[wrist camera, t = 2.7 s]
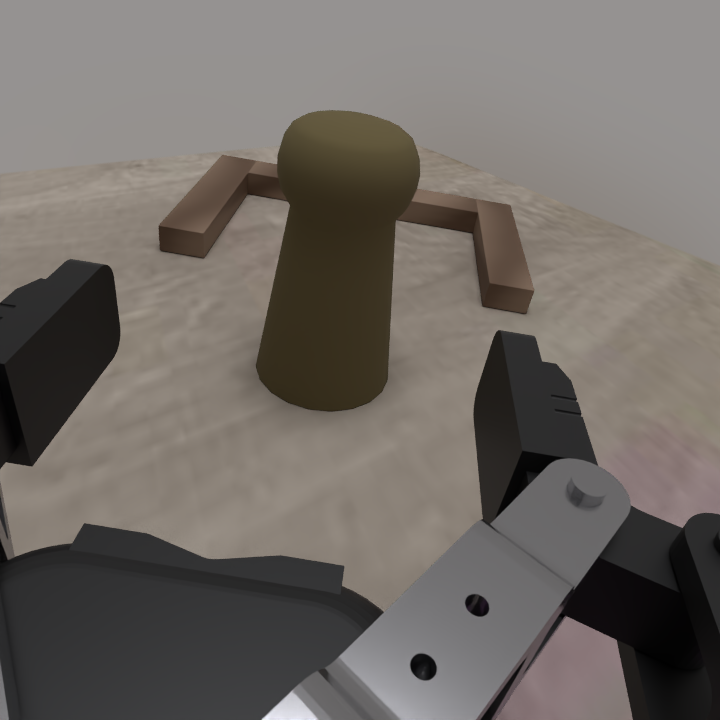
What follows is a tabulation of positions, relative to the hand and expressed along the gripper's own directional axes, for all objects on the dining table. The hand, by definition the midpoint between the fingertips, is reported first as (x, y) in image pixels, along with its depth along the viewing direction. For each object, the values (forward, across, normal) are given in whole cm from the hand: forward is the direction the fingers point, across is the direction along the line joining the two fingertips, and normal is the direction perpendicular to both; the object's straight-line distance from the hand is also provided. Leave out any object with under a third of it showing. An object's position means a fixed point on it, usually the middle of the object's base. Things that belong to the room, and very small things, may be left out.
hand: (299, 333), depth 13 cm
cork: (+12, 0, +10) cm, 15 cm away
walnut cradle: (+26, 0, +9) cm, 27 cm away
